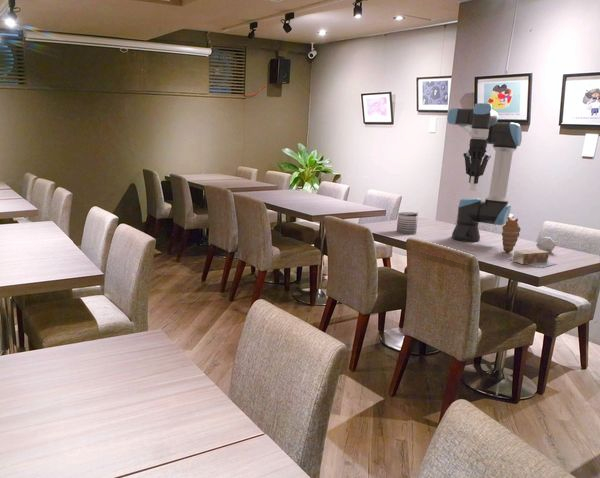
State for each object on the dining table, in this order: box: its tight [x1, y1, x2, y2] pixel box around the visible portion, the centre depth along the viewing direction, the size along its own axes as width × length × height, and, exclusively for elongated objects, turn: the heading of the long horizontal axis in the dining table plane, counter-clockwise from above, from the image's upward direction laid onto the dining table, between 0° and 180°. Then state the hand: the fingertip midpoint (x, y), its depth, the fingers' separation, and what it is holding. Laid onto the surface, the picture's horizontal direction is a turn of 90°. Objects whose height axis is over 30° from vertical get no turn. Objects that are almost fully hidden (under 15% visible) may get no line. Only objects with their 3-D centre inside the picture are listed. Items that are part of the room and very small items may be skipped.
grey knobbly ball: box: [535, 236, 557, 254], centre depth 266 cm, size 8×9×10 cm
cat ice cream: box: [501, 216, 521, 254], centre depth 258 cm, size 9×8×18 cm
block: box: [512, 248, 550, 265], centre depth 242 cm, size 5×6×16 cm
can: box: [396, 211, 419, 236], centre depth 295 cm, size 11×11×12 cm
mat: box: [505, 256, 557, 269], centre depth 244 cm, size 18×14×1 cm
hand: (472, 190), depth 237 cm, fingers closed
